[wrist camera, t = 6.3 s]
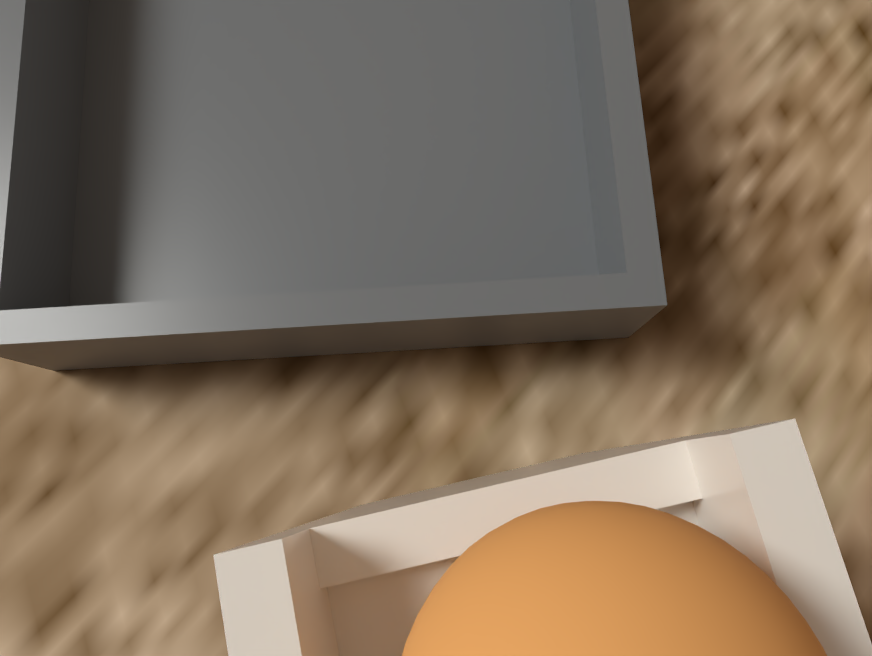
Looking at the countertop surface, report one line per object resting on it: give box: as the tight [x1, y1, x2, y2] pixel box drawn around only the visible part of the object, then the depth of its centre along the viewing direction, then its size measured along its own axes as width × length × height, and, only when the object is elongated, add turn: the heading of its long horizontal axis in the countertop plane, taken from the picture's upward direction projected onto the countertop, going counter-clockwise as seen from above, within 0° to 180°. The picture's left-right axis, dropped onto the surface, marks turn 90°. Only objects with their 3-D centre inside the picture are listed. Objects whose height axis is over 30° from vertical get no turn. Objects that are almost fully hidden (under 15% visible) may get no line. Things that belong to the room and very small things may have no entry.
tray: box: [0, 0, 667, 371], centre depth 23 cm, size 20×20×4 cm
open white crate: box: [213, 419, 872, 656], centre depth 10 cm, size 5×5×10 cm
